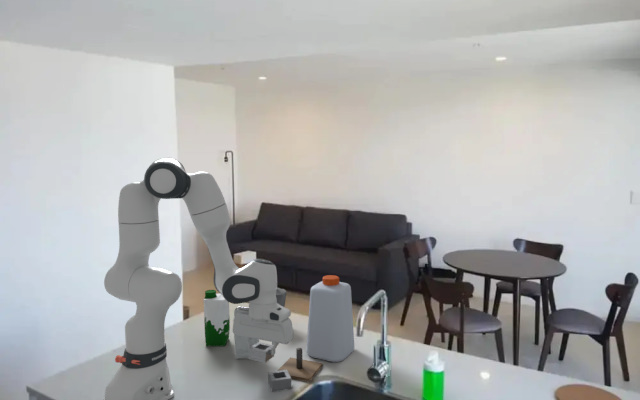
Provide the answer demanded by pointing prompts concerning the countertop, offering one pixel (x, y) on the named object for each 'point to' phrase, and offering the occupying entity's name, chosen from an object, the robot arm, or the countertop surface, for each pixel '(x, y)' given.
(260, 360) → the grey hollow square block
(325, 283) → the plastic bottle
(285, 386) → the link
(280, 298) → the coffeepot
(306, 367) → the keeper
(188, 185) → the robot arm
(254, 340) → the skincare box
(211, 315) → the milk carton
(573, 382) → the countertop surface
